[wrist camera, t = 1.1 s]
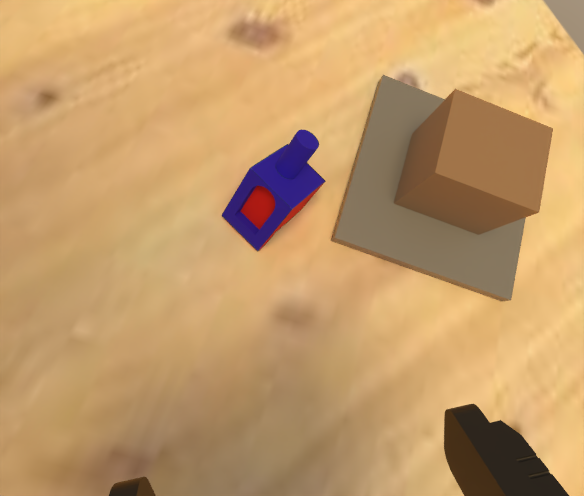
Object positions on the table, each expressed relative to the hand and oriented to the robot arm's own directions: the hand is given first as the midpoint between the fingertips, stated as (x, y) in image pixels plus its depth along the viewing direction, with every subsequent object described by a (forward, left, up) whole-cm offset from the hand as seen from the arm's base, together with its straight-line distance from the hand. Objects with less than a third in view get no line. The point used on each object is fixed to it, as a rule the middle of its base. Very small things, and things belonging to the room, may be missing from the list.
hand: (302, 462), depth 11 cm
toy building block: (-3, +12, -17) cm, 21 cm away
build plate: (+9, +18, -16) cm, 26 cm away
